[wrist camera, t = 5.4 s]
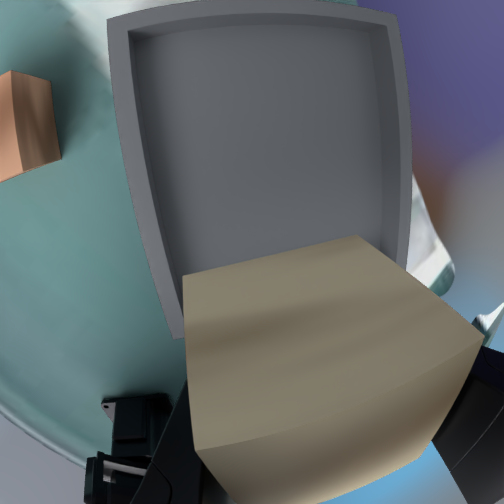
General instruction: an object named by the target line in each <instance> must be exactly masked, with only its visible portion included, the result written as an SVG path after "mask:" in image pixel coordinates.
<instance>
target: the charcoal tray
mask: <svg viewBox="0 0 504 504" xmlns="http://www.w3.org/2000/svg"><path fill="white" fill-rule="evenodd" d="M107 36H108V50H109V62H110V72H111V81H112V90H113V98H114V105H115V112H116V119H117V125H118V131H119V137H120V143H121V149H122V154H123V159H124V165H125V170H126V175H127V179H128V184H129V189H130V193H131V198H132V202H133V206H134V210H135V215H136V219H137V223H138V227H139V231H140V234H141V238H142V242H143V246H144V249H145V253H146V257H147V260H148V264H149V267H150V270H151V274H152V277H153V280H154V284H155V287H156V290H157V293H158V297H159V300H160V303H161V306H162V309H163V312H164V315H165V318H166V321H167V324H168V327H169V329H170V332H171V335H172V338H173V340H175V339H180V338H185V333H184V311H183V276H184V275H189V274H193V273H197V272H202V271H206V270H210V269H214V268H219V267H223V266H227V265H232V264H236V263H240V262H244V261H249V260H253V259H257V258H261V257H265V256H270V255H274V254H278V253H282V252H287V251H291V250H295V249H299V248H303V247H307V246H312V245H316V244H320V243H324V242H328V241H332V240H337V239H341V238H345V237H349V236H353V235H358V236H359V237H361V238H362V239H364V240H365V241H366V242H368V243H369V244H371V245H372V246H373V247H375V248H376V249H377V250H379V251H380V252H382V253H383V254H384V255H386V256H387V257H388V258H390V259H391V260H392V261H394V262H395V263H396V264H398V265H399V266H400V267H402V268H403V269H404V270H405V271H406V264H407V255H408V245H409V234H410V221H411V203H412V132H411V116H410V103H409V91H408V82H407V74H406V66H405V60H404V53H403V47H402V41H401V35H400V31H399V26H398V20H397V16H396V15H395V14H391V13H387V12H383V11H378V10H374V9H369V8H364V7H359V6H353V5H347V4H341V3H334V2H326V1H318V0H202V1H193V2H185V3H178V4H172V5H166V6H160V7H155V8H150V9H145V10H141V11H136V12H132V13H128V14H124V15H120V16H117V17H113V18H110V19H107Z"/></svg>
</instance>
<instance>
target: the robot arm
mask: <svg viewBox="0 0 504 504" xmlns="http://www.w3.org/2000/svg"><path fill="white" fill-rule="evenodd" d="M101 407H102V409H103V410H104V411H105V413H106V414H107V415H108V417H109V418H110V419H111V421H112V422H113V431H112V449H111V455H107V454H104V453H103V452H100V451H98V452H97V457H90V458H87V464H86V475H85V487H84V503H86V504H236V503H235V501H234V500H233V499H232V498H231V497H230V496H229V494H228V493H227V492H226V491H225V489H224V488H223V487H222V486H221V485H220V483H219V482H218V481H217V480H216V478H215V477H214V476H213V474H212V473H211V472H210V470H209V469H208V468H207V467H206V465H205V464H204V462H203V461H202V460H201V458H200V457H199V456H198V454H197V453H196V451H195V448H194V440H193V431H192V422H191V412H190V402H189V391H188V379H186V381H185V383H184V386H183V388H182V390H181V393H180V395H179V397H178V399H177V402H176V404H175V406H174V405H173V403H172V401H171V399H170V397H169V396H168V395H167V394H155V395H148V396H140V397H131V398H122V399H111V400H103V401H102V402H101ZM431 441H432V442H433V444H434V446H435V447H436V449H437V451H438V452H439V454H440V456H441V457H442V459H443V461H444V462H445V464H446V466H447V468H448V469H449V471H451V472H450V473H451V475H452V477H453V478H454V480H455V482H456V484H457V485H458V487H459V489H460V491H461V492H462V494H463V496H464V498H465V500H466V501H467V503H468V504H494V503H496V502H498V501H499V500H501V499H502V498H504V353H502V352H499V351H496V350H493V349H490V348H488V347H485V346H482V345H481V347H480V349H479V352H478V354H477V356H476V359H475V361H474V363H473V365H472V368H471V370H470V372H469V374H468V376H467V378H466V380H465V382H464V384H463V386H462V388H461V390H460V392H459V394H458V396H457V398H456V400H455V401H454V403H453V405H452V407H451V409H450V410H449V412H448V414H447V416H446V417H445V419H444V421H443V422H442V424H441V426H440V427H439V429H438V430H437V432H436V434H435V435H434V437H433V438H432V440H431ZM103 480H106V481H103ZM107 481H110V482H107Z"/></svg>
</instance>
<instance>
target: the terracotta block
mask: <svg viewBox="0 0 504 504" xmlns="http://www.w3.org/2000/svg"><path fill="white" fill-rule="evenodd" d="M60 159H61V153H60V148H59V142H58V136H57V130H56V123H55V116H54V109H53V100H52V90H51V81H48V80H44V79H41V78H38V77H34V76H31V75H27V74H23V73H20V72H16V71H12V70H10V71H8V72H6V73H5V74H3V75H1V76H0V183H1V182H4V181H6V180H8V179H11V178H13V177H15V176H18V175H20V174H23V173H25V172H28V171H30V170H33V169H35V168H38V167H41V166H43V165H46V164H49V163H52V162H55V161H57V160H60Z"/></svg>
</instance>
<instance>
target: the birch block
mask: <svg viewBox="0 0 504 504" xmlns="http://www.w3.org/2000/svg"><path fill="white" fill-rule="evenodd" d="M183 311H184V333H185V351H186V366H187V379H188V391H189V402H190V412H191V422H192V431H193V440H194V448H195V451H196V453H197V454H198V456H199V457H200V458H201V460H202V461H203V462H204V464H205V465H206V467H207V468H208V469H209V470H210V472H211V473H212V474H213V476H214V477H215V478H216V480H217V481H218V482H219V483H220V485H221V486H222V487H223V488H224V489H225V491H226V492H227V493H228V494H229V496H230V497H231V498H232V499H233V500H234V501H235V503H236V504H318V503H321V502H324V501H326V500H330V499H332V498H335V497H337V496H340V495H343V494H345V493H348V492H350V491H353V490H355V489H357V488H360V487H362V486H365V485H367V484H369V483H371V482H373V481H376V480H378V479H380V478H382V477H384V476H386V475H388V474H390V473H392V472H394V471H396V470H397V469H400V468H401V467H403V466H405V465H407V464H409V463H411V462H412V461H414V460H416V459H417V458H419V457H420V456H421V454H422V453H423V451H424V450H425V449H426V447H427V446H428V444H429V443H430V441H431V440H432V438H433V437H434V435H435V434H436V432H437V430H438V429H439V427H440V426H441V424H442V422H443V421H444V419H445V417H446V416H447V414H448V412H449V410H450V409H451V407H452V405H453V403H454V401H455V400H456V398H457V396H458V394H459V392H460V390H461V388H462V386H463V384H464V382H465V380H466V378H467V376H468V374H469V372H470V370H471V368H472V365H473V363H474V361H475V359H476V356H477V354H478V352H479V349H480V347H481V345H482V342H483V340H484V337H485V336H484V335H483V334H482V333H481V332H479V331H478V330H477V329H476V328H475V327H474V326H473V325H472V324H470V323H469V322H468V321H467V320H466V319H465V318H463V317H462V316H461V315H460V314H459V313H458V312H456V311H455V310H454V309H453V308H452V307H450V306H449V305H448V304H447V303H446V302H444V301H443V300H442V299H441V298H440V297H438V296H437V295H436V294H435V293H433V292H432V291H431V290H430V289H428V288H427V287H426V286H425V285H423V284H422V283H421V282H420V281H418V280H417V279H416V278H415V277H413V276H412V275H411V274H409V273H408V272H407V271H405V270H404V269H403V268H402V267H400V266H399V265H398V264H396V263H395V262H394V261H392V260H391V259H390V258H388V257H387V256H386V255H384V254H383V253H382V252H380V251H379V250H377V249H376V248H375V247H373V246H372V245H371V244H369V243H368V242H366V241H365V240H364V239H362V238H361V237H359V236H358V235H353V236H349V237H345V238H341V239H337V240H332V241H328V242H324V243H320V244H316V245H312V246H307V247H303V248H299V249H295V250H291V251H287V252H282V253H278V254H274V255H270V256H265V257H261V258H257V259H253V260H249V261H244V262H240V263H236V264H232V265H227V266H223V267H219V268H214V269H210V270H206V271H202V272H197V273H193V274H189V275H184V276H183Z"/></svg>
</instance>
